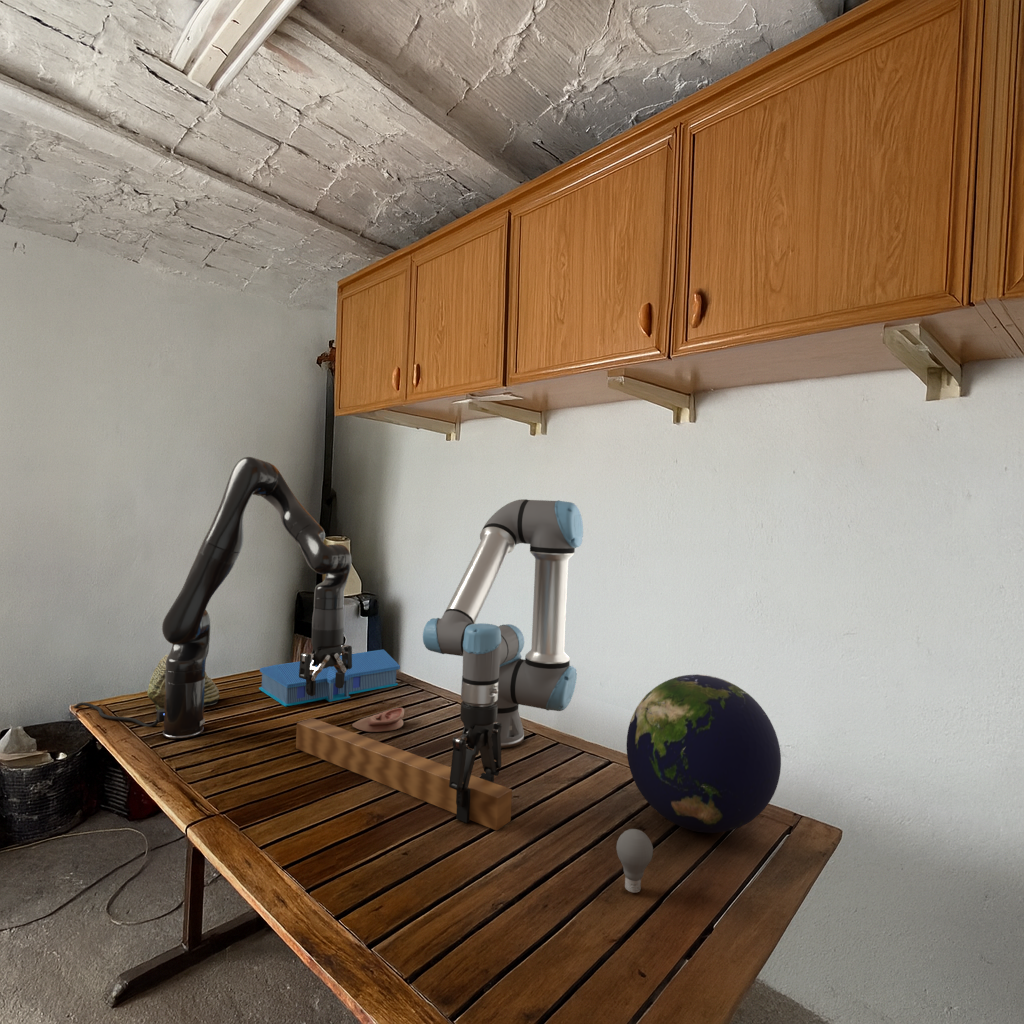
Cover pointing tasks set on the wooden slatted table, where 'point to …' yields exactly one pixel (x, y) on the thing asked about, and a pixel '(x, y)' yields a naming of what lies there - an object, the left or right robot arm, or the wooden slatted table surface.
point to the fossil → (158, 687)
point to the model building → (330, 679)
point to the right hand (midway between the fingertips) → (474, 812)
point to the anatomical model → (381, 721)
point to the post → (403, 771)
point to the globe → (703, 753)
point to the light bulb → (634, 857)
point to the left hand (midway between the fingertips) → (325, 691)
